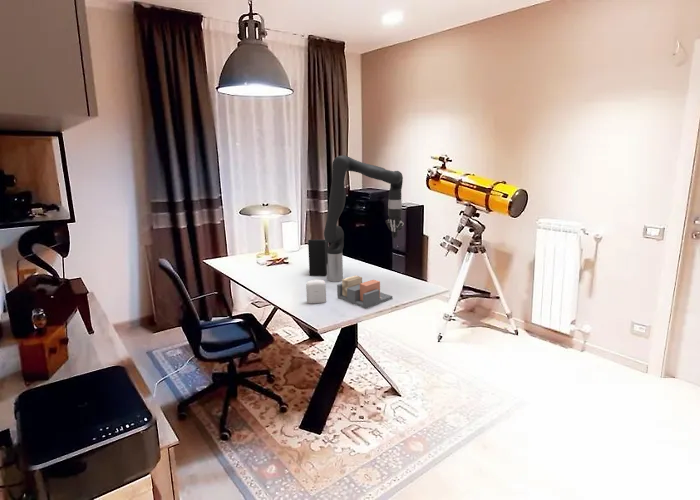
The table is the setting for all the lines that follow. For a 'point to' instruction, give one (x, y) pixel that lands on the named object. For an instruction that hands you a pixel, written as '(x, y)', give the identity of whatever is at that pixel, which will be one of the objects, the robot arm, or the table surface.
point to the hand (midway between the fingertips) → (394, 237)
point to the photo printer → (316, 291)
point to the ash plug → (350, 283)
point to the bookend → (318, 257)
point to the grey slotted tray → (368, 298)
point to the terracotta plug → (368, 287)
